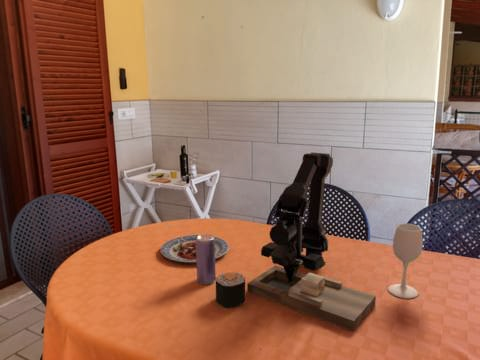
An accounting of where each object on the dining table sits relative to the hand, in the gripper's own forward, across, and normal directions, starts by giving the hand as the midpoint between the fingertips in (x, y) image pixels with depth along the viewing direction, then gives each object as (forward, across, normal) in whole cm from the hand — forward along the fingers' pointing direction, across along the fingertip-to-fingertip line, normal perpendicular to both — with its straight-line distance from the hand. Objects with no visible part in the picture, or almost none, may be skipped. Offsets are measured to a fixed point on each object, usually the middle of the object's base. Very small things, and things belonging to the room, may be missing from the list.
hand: (290, 281), depth 126 cm
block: (0, +7, 0) cm, 7 cm away
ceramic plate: (+4, -45, +5) cm, 45 cm away
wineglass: (+4, +28, +21) cm, 35 cm away
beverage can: (+4, -26, -10) cm, 28 cm away
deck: (+4, +6, 0) cm, 7 cm away
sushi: (+4, -12, -15) cm, 19 cm away
